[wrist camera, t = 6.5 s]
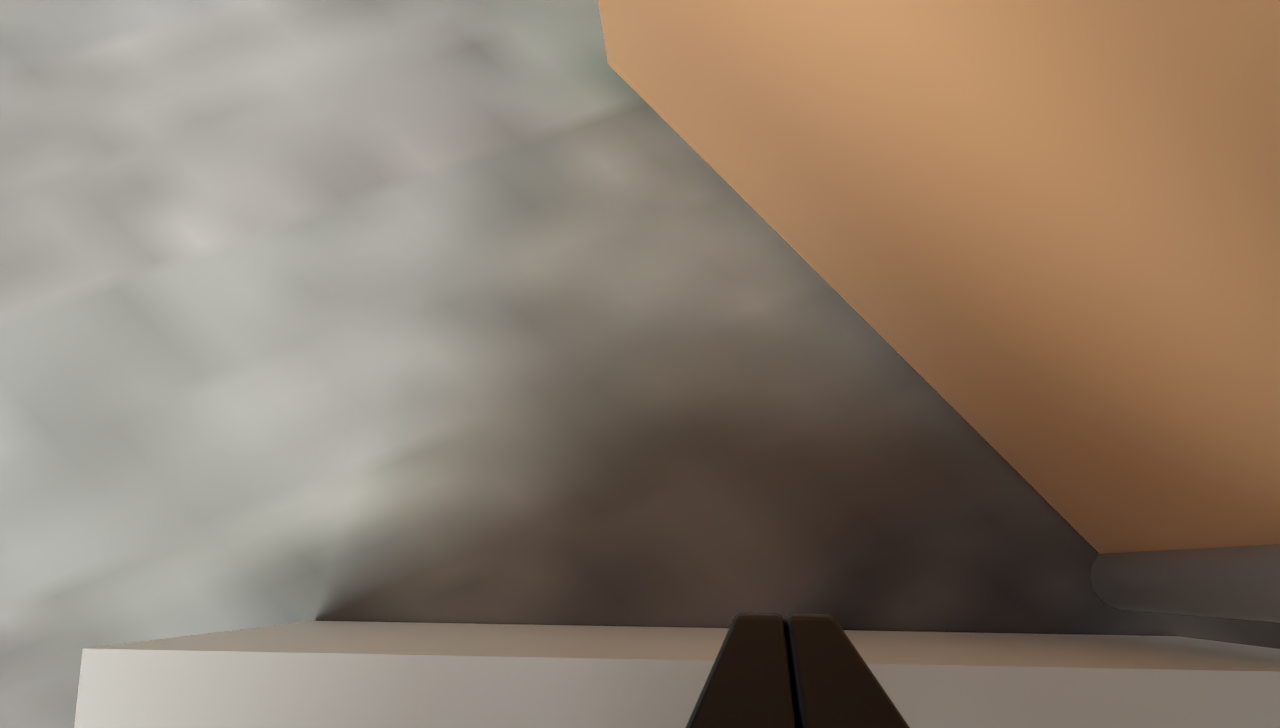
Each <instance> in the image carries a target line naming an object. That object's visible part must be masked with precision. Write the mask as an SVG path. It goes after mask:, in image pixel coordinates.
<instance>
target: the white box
mask: <svg viewBox="0 0 1280 728" xmlns="http://www.w3.org/2000/svg"><path fill="white" fill-rule="evenodd" d="M728 630H729V628H689V627H633V626H578V625H522V624H466V623H411V622H355V621H306V622H298V623H290V624H281V625H273V626H265V627H257V628H248V629H240V630H232V631H224V632H215V633H207V634H199V635H191V636H182V637H174V638H166V639H157V640H149V641H141V642H133V643H124V644H116V645H108V646H100V647H91V648H83V652H82V661H81V670H80V680H79V689H78V698H77V707H76V717H75V726H74V728H685V727H686V725H687V723H688V720H689V718H690V716H691V714H692V711H693V709H694V707H695V705H696V702H697V700H698V698H699V695H700V693H701V691H702V689H703V686H704V684H705V682H706V680H707V677H708V675H709V673H710V670H711V668H712V666H713V664H714V661H715V659H716V657H717V655H718V652H719V650H720V648H721V646H722V643H723V641H724V639H725V636H726V634H727V632H728ZM843 631H844V632H845V633H846V635H847V636H848V638H849V639H850V641H851V642H852V644H853V645H854V647H855V648H856V650H857V651H858V652H859V654H860V655H861V657H862V658H863V660H864V661H865V663H866V664H867V666H868V667H869V669H870V670H871V672H872V673H873V674H874V676H875V677H876V679H877V680H878V682H879V683H880V685H881V686H882V688H883V689H884V691H885V692H886V693H887V695H888V696H889V698H890V699H891V701H892V702H893V704H894V705H895V707H896V708H897V710H898V711H899V712H900V714H901V715H902V717H903V718H904V720H905V721H906V723H907V724H908V726H909V727H910V728H1280V649H1276V648H1268V647H1260V646H1252V645H1244V644H1236V643H1228V642H1220V641H1212V640H1205V639H1197V638H1189V637H1181V636H1135V635H1079V634H1023V633H968V632H912V631H856V630H843Z"/></svg>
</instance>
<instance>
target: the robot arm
mask: <svg viewBox="0 0 1280 728" xmlns="http://www.w3.org/2000/svg"><path fill="white" fill-rule="evenodd" d="M685 728H910V727H909V726H908V724H907V723H906V721H905V720H904V718H903V717H902V715H901V714H900V712H899V711H898V710H897V708H896V707H895V705H894V704H893V702H892V701H891V699H890V698H889V696H888V695H887V693H886V692H885V691H884V689H883V688H882V686H881V685H880V683H879V682H878V680H877V679H876V677H875V676H874V674H873V673H872V672H871V670H870V669H869V667H868V666H867V664H866V663H865V661H864V660H863V658H862V657H861V655H860V654H859V652H858V651H857V650H856V648H855V647H854V645H853V644H852V642H851V641H850V639H849V638H848V636H847V635H846V633H845V632H844V631H843V629H842V628H841V626H840V625H839V623H838V622H837V621H836V620H835V619H834V618H833V617H832V616H830V615H827V614H790V615H788V616H787V617H786V618H785V620H783V618H782V616H780V615H779V614H776V613H739V614H737V615H736V616H735V618H734V619H733V621H732V623H731V625H730V627H729V630H728V632H727V634H726V636H725V639H724V641H723V643H722V646H721V648H720V650H719V652H718V655H717V657H716V659H715V661H714V664H713V666H712V668H711V670H710V673H709V675H708V677H707V680H706V682H705V684H704V686H703V689H702V691H701V693H700V695H699V698H698V700H697V702H696V705H695V707H694V709H693V711H692V714H691V716H690V718H689V720H688V723H687V725H686V727H685Z"/></svg>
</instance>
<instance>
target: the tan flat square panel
mask: <svg viewBox="0 0 1280 728" xmlns="http://www.w3.org/2000/svg"><path fill="white" fill-rule="evenodd" d="M598 5H599V11H600V17H601V23H602V30H603V36H604V42H605V48H606V54H607V61H608V65H609V66H610V67H611V68H612V69H613V70H614V71H615V72H616V73H617V74H618V75H619V76H620V77H621V78H622V79H623V80H624V81H625V82H626V83H627V84H628V85H629V86H630V87H631V88H633V89H634V90H635V91H636V92H637V93H638V94H639V95H640V96H641V97H642V98H643V99H644V100H645V101H646V102H647V103H648V104H649V105H650V106H651V107H652V108H653V109H654V110H655V111H656V112H657V113H658V114H659V115H660V116H661V117H662V118H663V119H664V120H665V121H666V122H667V123H668V124H669V125H670V126H671V127H672V128H673V129H674V130H675V131H676V132H677V133H678V134H679V135H680V136H681V137H682V138H683V139H684V140H685V141H686V142H687V143H688V144H689V145H690V146H691V147H692V148H693V149H694V150H695V151H696V152H697V153H698V154H699V155H700V156H701V157H702V158H703V159H704V160H705V161H706V162H707V163H708V164H709V165H710V166H711V167H712V168H713V169H714V170H715V171H716V172H717V173H718V174H719V175H720V176H721V177H722V178H723V179H724V180H725V181H726V182H727V183H728V184H729V185H730V186H731V187H732V188H733V189H734V190H735V191H736V192H737V193H738V194H739V195H740V196H741V197H742V198H743V199H744V200H745V201H746V202H747V203H748V204H749V205H750V206H751V207H752V208H753V209H754V210H755V211H756V212H757V213H758V214H759V215H760V216H761V217H762V218H763V219H764V220H765V221H766V222H767V223H768V224H769V225H770V226H771V227H772V228H773V229H774V230H775V231H776V232H777V233H778V234H779V235H780V236H781V237H782V238H783V239H784V240H785V241H786V242H787V243H788V244H789V245H790V246H791V247H792V248H793V249H794V250H795V251H796V252H797V253H798V254H799V255H800V256H801V257H802V258H803V259H804V260H805V261H806V262H807V263H808V264H809V265H810V266H811V267H812V268H813V269H814V270H815V271H816V272H817V273H818V274H819V275H820V276H821V277H822V278H823V279H824V280H825V281H826V282H827V283H828V284H829V285H830V286H831V287H832V288H833V289H834V290H835V291H836V292H837V293H838V294H839V295H840V296H841V297H842V298H843V299H844V300H845V301H846V302H847V303H848V304H849V305H850V306H851V307H852V308H853V309H854V310H855V311H856V312H857V313H858V314H859V315H860V316H861V317H862V318H863V319H864V320H865V321H866V322H867V323H868V324H869V325H870V326H871V327H872V328H873V329H874V330H875V331H876V332H877V333H878V334H879V335H880V336H881V337H882V338H883V339H884V340H885V341H886V342H887V343H888V344H889V345H890V346H891V347H892V348H893V349H894V350H895V351H897V352H898V353H899V354H900V355H901V356H902V357H903V358H904V359H905V360H906V361H907V362H908V363H909V364H910V365H911V366H912V367H913V368H914V369H915V370H916V371H917V372H918V373H919V374H920V375H921V376H922V377H923V378H924V379H925V380H926V381H927V382H928V383H929V384H930V385H931V386H932V387H933V388H934V389H935V390H936V391H937V392H938V393H939V394H940V395H941V396H942V397H943V398H944V399H945V400H946V401H947V402H948V403H949V404H950V405H951V406H952V407H953V408H954V409H955V410H956V411H957V412H958V413H959V414H960V415H961V416H962V417H963V418H964V419H965V420H966V421H967V422H968V423H969V424H970V425H971V426H972V427H973V428H974V429H975V430H976V431H977V432H978V433H979V434H980V435H981V436H982V437H983V438H984V439H985V440H986V441H987V442H988V443H989V444H990V445H991V446H992V447H993V448H994V449H995V450H996V451H997V452H998V453H999V454H1000V455H1001V456H1002V457H1003V458H1004V459H1005V460H1006V461H1007V462H1008V463H1009V464H1010V465H1011V466H1012V467H1013V468H1014V469H1015V470H1016V471H1017V472H1018V473H1019V474H1020V475H1021V476H1022V477H1023V478H1024V479H1025V480H1026V481H1027V482H1028V483H1029V484H1030V485H1031V486H1032V487H1033V488H1034V489H1035V490H1036V491H1037V492H1038V493H1039V494H1040V495H1041V496H1042V497H1043V498H1044V499H1045V500H1046V501H1047V502H1048V503H1049V504H1050V505H1051V506H1052V507H1053V508H1054V509H1055V510H1056V511H1057V512H1058V513H1059V514H1060V515H1061V516H1062V517H1063V518H1064V519H1065V520H1066V521H1067V522H1068V523H1069V524H1070V525H1071V526H1072V527H1073V528H1074V529H1075V530H1076V531H1077V532H1078V533H1079V534H1080V535H1081V536H1082V537H1083V538H1084V539H1085V540H1086V541H1087V542H1088V543H1089V544H1090V545H1091V546H1092V547H1093V548H1094V549H1095V550H1096V551H1097V552H1098V553H1099V555H1098V556H1097V557H1096V559H1095V560H1094V562H1093V565H1092V568H1091V582H1092V585H1093V588H1094V590H1095V592H1096V594H1097V595H1098V597H1099V598H1100V599H1101V600H1102V601H1103V602H1104V603H1106V604H1107V605H1109V606H1111V607H1113V608H1116V609H1120V610H1129V611H1142V612H1154V613H1167V614H1179V615H1191V616H1204V617H1216V618H1228V619H1241V620H1253V621H1266V622H1278V623H1280V0H598Z"/></svg>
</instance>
